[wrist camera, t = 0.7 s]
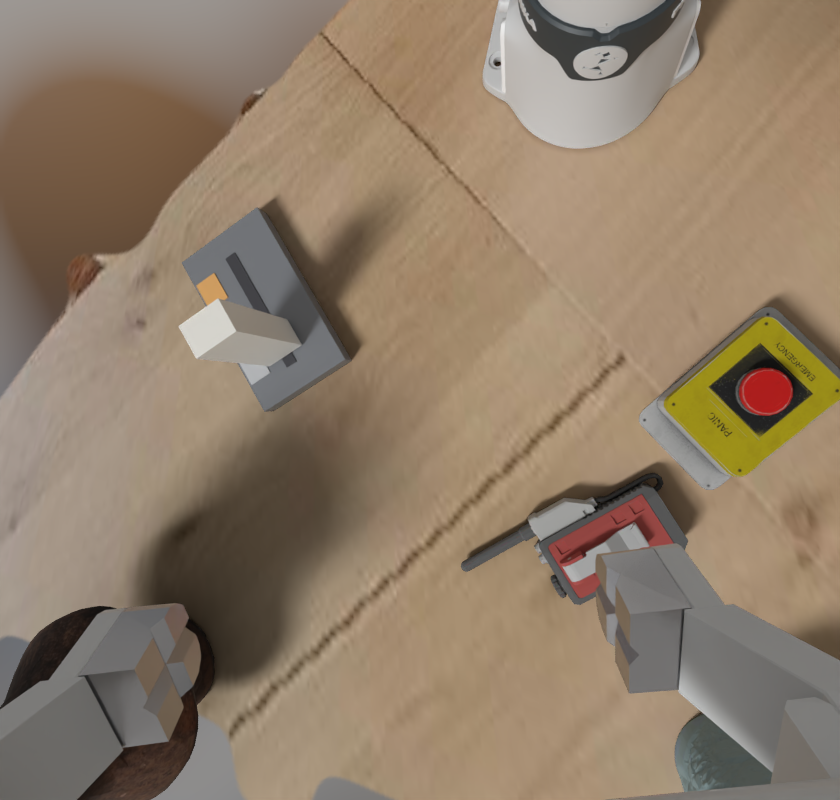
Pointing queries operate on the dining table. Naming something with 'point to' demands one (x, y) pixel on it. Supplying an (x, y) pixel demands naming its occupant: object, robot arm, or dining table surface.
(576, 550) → the walkie-talkie
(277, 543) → the dining table surface
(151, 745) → the jug
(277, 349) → the switch tab
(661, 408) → the emergency button
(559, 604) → the dining table surface
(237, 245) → the switch panel
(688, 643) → the robot arm
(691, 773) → the grey-green cup
